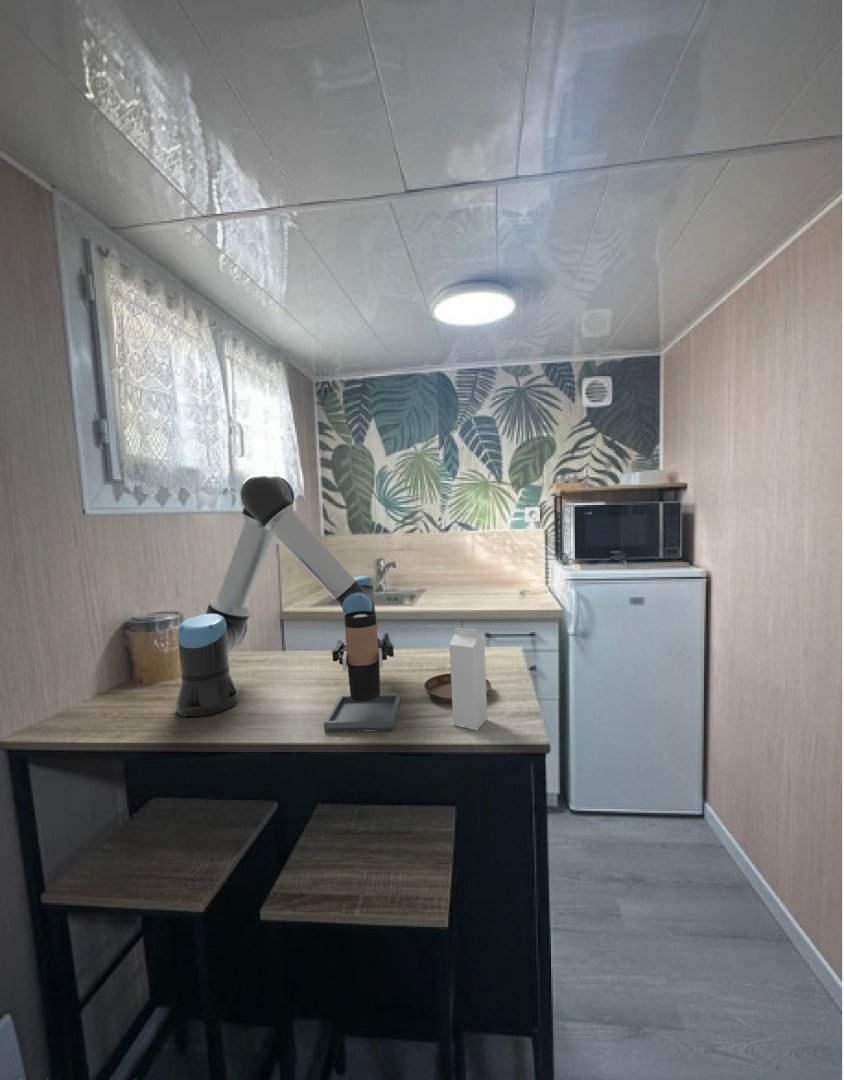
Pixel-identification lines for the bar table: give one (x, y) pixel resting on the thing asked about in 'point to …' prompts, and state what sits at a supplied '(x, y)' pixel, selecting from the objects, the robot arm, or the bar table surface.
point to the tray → (363, 714)
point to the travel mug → (362, 655)
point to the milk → (468, 678)
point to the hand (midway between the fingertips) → (362, 663)
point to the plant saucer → (443, 688)
